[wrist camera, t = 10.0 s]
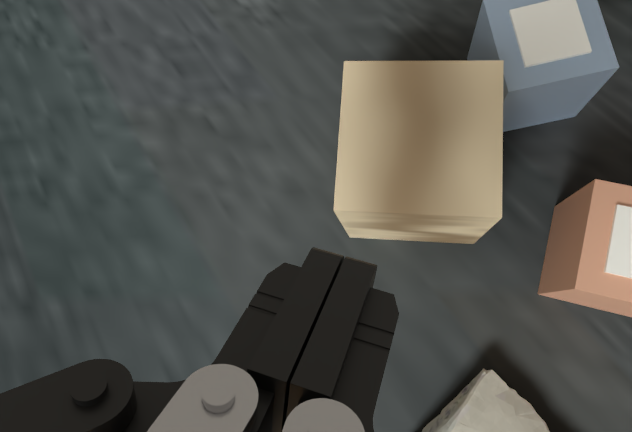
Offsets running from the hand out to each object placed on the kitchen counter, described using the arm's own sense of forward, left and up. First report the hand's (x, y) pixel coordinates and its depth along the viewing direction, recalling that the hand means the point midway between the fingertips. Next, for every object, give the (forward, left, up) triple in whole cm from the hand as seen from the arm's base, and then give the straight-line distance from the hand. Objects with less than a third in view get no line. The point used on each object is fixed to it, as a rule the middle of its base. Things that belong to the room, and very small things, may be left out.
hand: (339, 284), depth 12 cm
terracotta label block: (-12, -3, -18) cm, 22 cm away
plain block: (-2, -7, -18) cm, 19 cm away
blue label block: (-8, -13, -18) cm, 23 cm away
